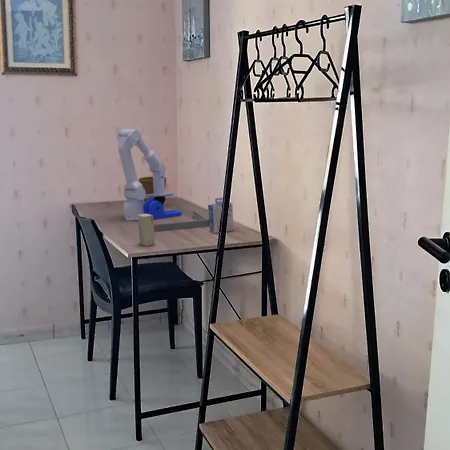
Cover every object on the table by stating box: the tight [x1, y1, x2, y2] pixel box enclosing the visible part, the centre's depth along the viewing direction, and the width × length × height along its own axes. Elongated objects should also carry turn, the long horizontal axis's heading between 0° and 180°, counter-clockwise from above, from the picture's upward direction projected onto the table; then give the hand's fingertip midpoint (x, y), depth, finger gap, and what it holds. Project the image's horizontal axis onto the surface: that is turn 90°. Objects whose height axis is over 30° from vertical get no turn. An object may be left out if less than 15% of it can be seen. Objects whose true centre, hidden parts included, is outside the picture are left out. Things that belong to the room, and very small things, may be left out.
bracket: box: [143, 199, 182, 221], centre depth 313 cm, size 18×8×9 cm, turn 120°
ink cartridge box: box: [207, 197, 234, 234], centre depth 275 cm, size 10×6×14 cm, turn 118°
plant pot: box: [137, 176, 167, 203], centre depth 337 cm, size 15×15×16 cm
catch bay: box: [154, 209, 209, 233], centre depth 295 cm, size 28×25×3 cm
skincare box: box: [137, 214, 156, 247], centre depth 256 cm, size 6×4×12 cm
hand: (160, 211), depth 323 cm, fingers closed
